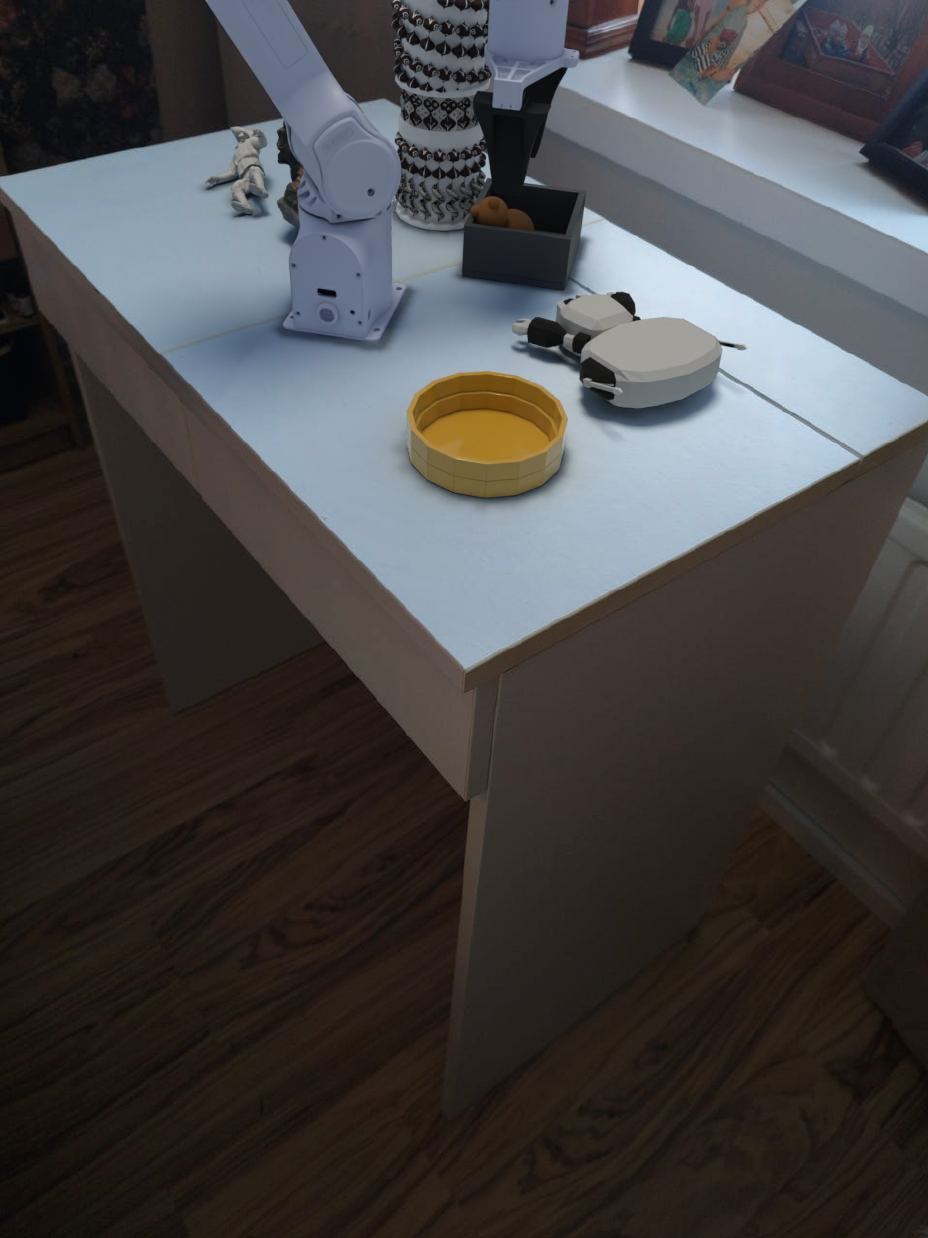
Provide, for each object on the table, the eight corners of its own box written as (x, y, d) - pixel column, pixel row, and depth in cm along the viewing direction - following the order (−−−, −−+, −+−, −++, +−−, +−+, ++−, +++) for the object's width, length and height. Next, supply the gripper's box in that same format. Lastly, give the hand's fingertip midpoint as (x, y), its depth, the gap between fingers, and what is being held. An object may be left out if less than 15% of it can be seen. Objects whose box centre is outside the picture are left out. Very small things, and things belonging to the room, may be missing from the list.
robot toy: (499, 358, 81) (619, 443, 72) (501, 305, 78) (626, 386, 69) (617, 320, 86) (743, 395, 77) (623, 269, 83) (755, 340, 74)
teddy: (543, 255, 89) (502, 215, 84) (505, 271, 92) (462, 232, 86) (542, 216, 90) (501, 174, 85) (504, 233, 93) (462, 192, 87)
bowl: (548, 513, 67) (553, 474, 64) (390, 486, 68) (389, 447, 66) (571, 422, 74) (576, 384, 72) (428, 399, 75) (428, 361, 73)
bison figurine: (397, 262, 90) (396, 145, 83) (329, 282, 87) (322, 163, 80) (327, 211, 97) (321, 100, 90) (261, 229, 94) (250, 114, 86)
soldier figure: (210, 226, 96) (188, 139, 101) (249, 250, 100) (226, 164, 104) (264, 172, 92) (239, 84, 97) (302, 198, 96) (277, 113, 101)
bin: (564, 290, 88) (570, 239, 85) (461, 275, 89) (463, 224, 86) (580, 239, 95) (586, 190, 92) (484, 226, 96) (487, 177, 93)
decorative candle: (497, 199, 100) (518, -106, 82) (471, 239, 94) (487, -82, 76) (410, 184, 102) (411, -118, 84) (379, 222, 96) (373, -96, 78)
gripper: (572, 15, 67) (550, 217, 76) (598, -39, 77) (576, 145, 86) (467, 3, 67) (460, 205, 77) (507, -49, 77) (495, 135, 87)
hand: (515, 173), depth 82 cm, fingers open, 7 cm apart
